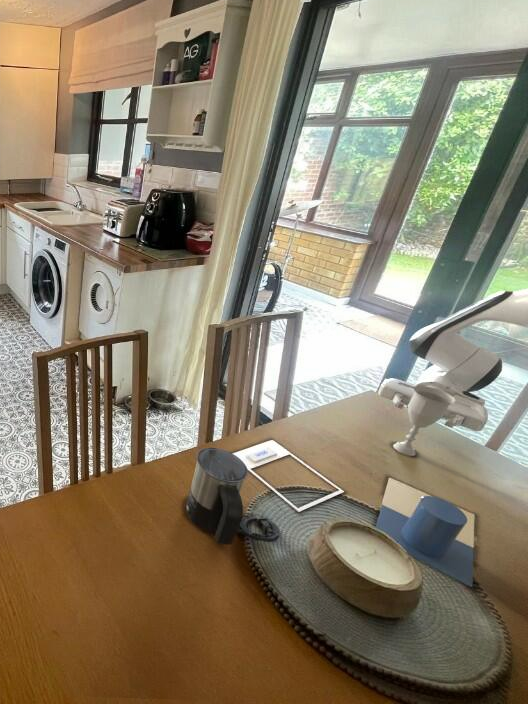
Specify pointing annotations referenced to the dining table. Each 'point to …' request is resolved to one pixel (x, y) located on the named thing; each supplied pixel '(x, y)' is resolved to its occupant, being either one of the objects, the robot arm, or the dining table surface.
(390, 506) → the board
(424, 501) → the short blue cylinder
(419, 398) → the chalice
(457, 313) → the robot arm
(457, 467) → the dining table surface
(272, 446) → the photo frame
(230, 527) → the milk frother
